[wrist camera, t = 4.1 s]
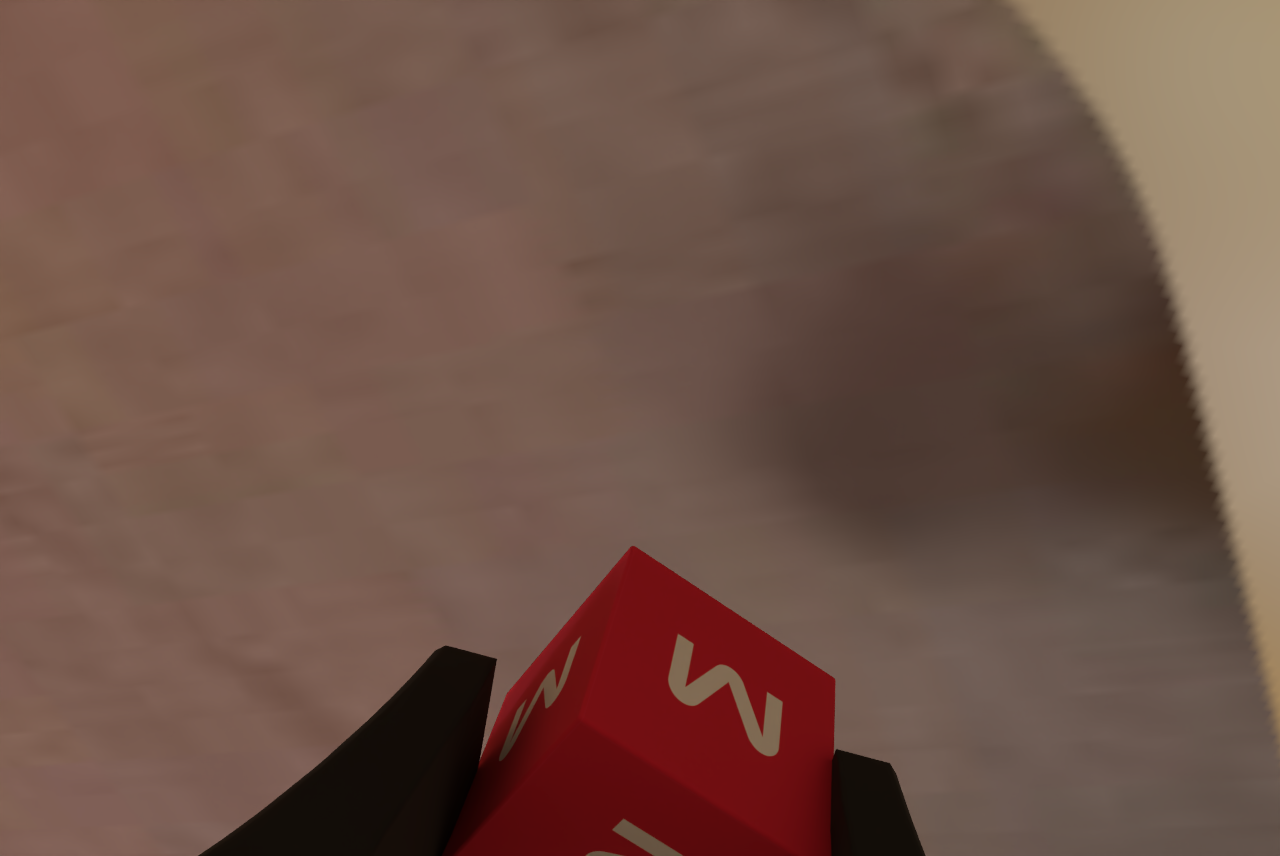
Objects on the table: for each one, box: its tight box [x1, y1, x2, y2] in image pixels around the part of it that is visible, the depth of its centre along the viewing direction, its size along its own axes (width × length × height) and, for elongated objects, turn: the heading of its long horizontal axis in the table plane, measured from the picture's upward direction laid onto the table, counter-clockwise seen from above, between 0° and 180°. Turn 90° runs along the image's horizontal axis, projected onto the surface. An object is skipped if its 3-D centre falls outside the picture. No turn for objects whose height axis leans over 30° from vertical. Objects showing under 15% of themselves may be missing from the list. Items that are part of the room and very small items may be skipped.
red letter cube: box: [442, 546, 835, 856], centre depth 13 cm, size 3×3×3 cm
